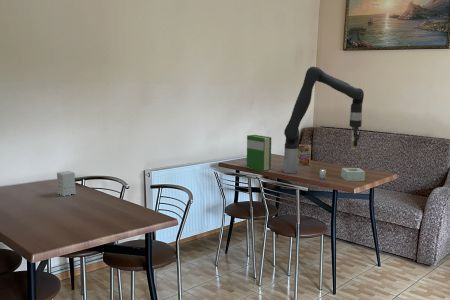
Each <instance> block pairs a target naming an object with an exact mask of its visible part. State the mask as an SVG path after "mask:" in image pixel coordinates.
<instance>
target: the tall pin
mask: <svg viewBox="0 0 450 300" xmlns="http://www.w3.org/2000/svg"><path fill="white" fill-rule="evenodd" d="M356 138H357V137H356ZM357 141H358V142H357V146H354V137H353V131H352V139H351V143H350V145H351V146H350V152H351V153H358V148H359V147H358V144H359V140H357Z"/></svg>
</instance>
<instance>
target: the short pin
mask: <svg viewBox="0 0 450 300" xmlns="http://www.w3.org/2000/svg"><path fill="white" fill-rule="evenodd" d="M319 179H320V180H326V179H327V169H323V168H321V169H319Z"/></svg>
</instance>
